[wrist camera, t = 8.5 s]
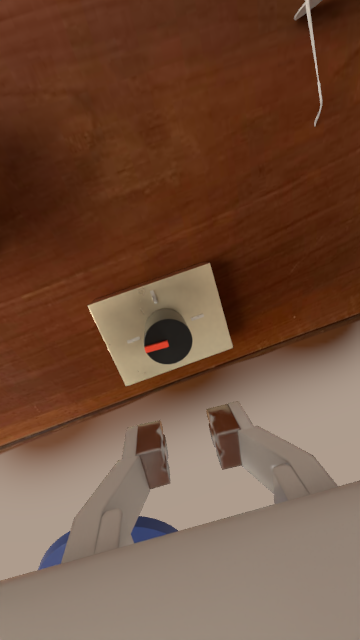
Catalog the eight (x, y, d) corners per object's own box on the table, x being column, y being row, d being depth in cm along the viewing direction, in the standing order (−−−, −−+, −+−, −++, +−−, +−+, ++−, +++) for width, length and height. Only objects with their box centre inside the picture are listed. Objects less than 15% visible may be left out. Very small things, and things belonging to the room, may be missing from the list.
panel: (224, 338, 28) (233, 348, 25) (128, 373, 28) (125, 387, 25) (203, 261, 25) (210, 262, 22) (94, 299, 25) (86, 305, 22)
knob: (180, 303, 23) (187, 313, 19) (190, 341, 24) (198, 358, 20) (139, 314, 23) (137, 327, 18) (151, 352, 24) (151, 372, 20)
